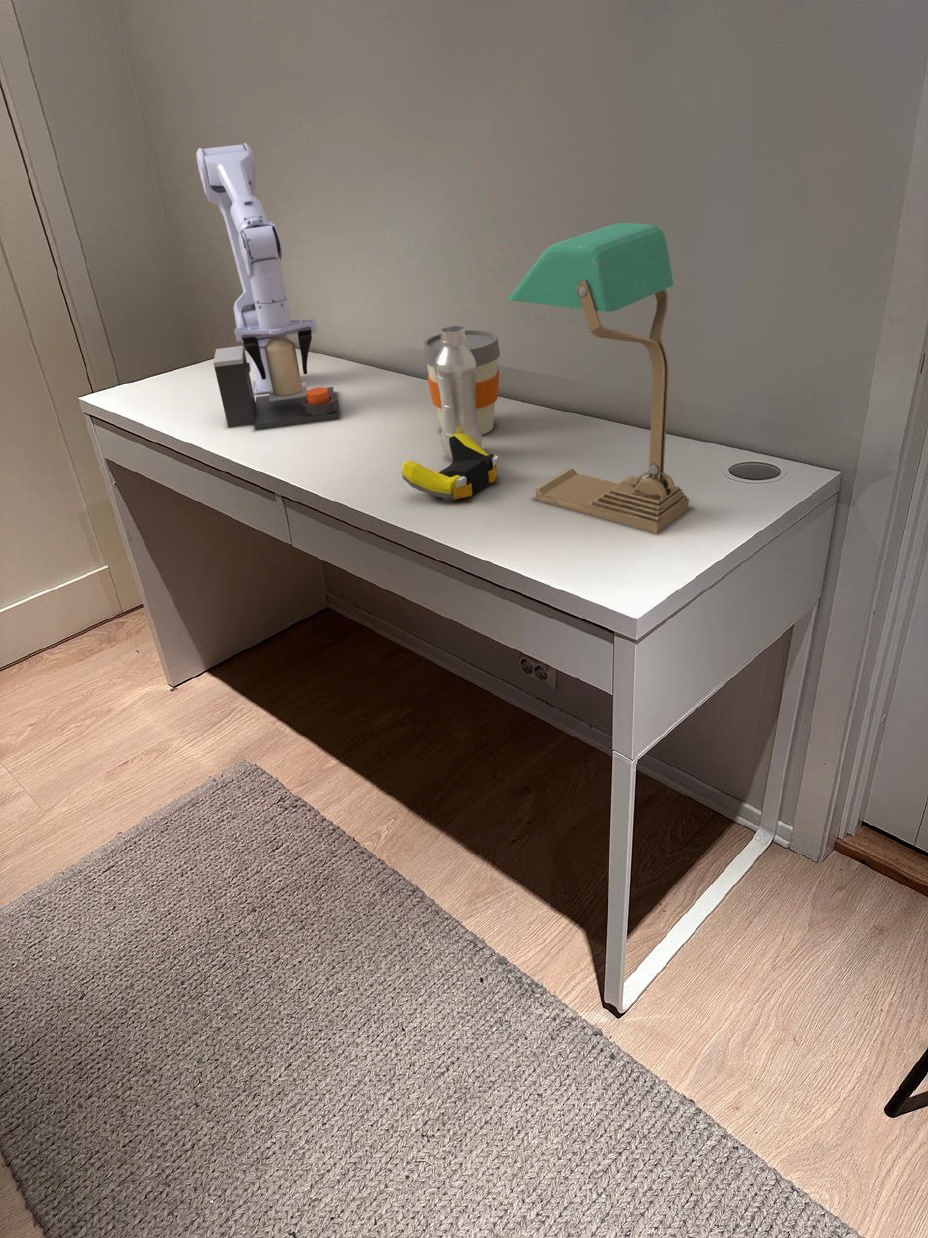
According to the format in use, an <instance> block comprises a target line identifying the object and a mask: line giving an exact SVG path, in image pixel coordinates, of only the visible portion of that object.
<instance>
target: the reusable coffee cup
mask: <svg viewBox="0 0 928 1238" xmlns="http://www.w3.org/2000/svg"><path fill="white" fill-rule="evenodd" d="M465 337H466V341H465V342H464V344H465V345H466V347H467V348H468V349H469V350H470V352H471V353H472V354H473V356H474V358H475V361H476V380H475V405H476V412H477V418H478V425H479V427H480V430H481V435H482V436H483V435H486V434H488V433H489V432H490V431H492V430H493V428H494V423H495V422H494V420H495V408H496V405H495V404H496V402H497V401H498V398H499V386H500V369H498V365H499V364H498V363H499V357H500V356H501V352H500V351H501V350H500V346H499V345H500V344H499V338H498V336H497V334H496V333H494V332H491V331H488V330H481V329H465ZM440 339H441V334H440V333H437V334H435V335H432V336H430V337H428V338H427V339H425V340H424V342H423V343H424V344H423V362H424V363H425V364H426V367H427V372H428V375H427V377H426V378H427V382H428V387H429V391H430V397H431V400H432V404H433V405H434V406H435V407H436V411H437V415H438V421H439V425H440V429H441V431H442V406H441V400H440V393H439V388H438V384H437V380H436V375H435V371H434V363H435V359H436V357H437V355H438V353H439V351H440V350H441V348H442V346H443V344H441V343H440Z"/></svg>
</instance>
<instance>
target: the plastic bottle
mask: <svg viewBox="0 0 928 1238" xmlns="http://www.w3.org/2000/svg"><path fill="white" fill-rule="evenodd" d="M465 330H466V329H465V326H462V325H449V326H445V327H442V328H441V329H440V332H439V334H441V339H440V343H441V344H443V346H442V348H441V350H440V351H439V353H438V355H437V357H436V359H435V363H434V371H435V375H436V380H437V384H438V388H439V393H440V400H441V406H442V430H441V432H440V444H441V448H442V451H443V453H444V454H445V456H446V457H448V458H450V459H452V455H451V451H450V447H449V438H450V436H453V435H455V434H457V433H461V434H464V435H467V436H469V437H470V438H471V439H472V440H473V441H474V442H475V443H476V444H477V445H478V446H480V447H481V448H482V445H483V435H481V430H480V427H479V425H478V418H477V412H476V405H475V380H476V361H475V358H474V356H473V354H472V353H471V352H470V350H469V349H468V348H467V347H466V345H465V344H464V342H465V341H466V337H465Z"/></svg>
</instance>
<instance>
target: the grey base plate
mask: <svg viewBox="0 0 928 1238" xmlns="http://www.w3.org/2000/svg"><path fill="white" fill-rule="evenodd" d="M326 388H327V389H328V392H329V398H330V400H329V401H328V402H325V403H321V404H309V403H308V400H307V397H303V398H295V399H288V400H280V401H272V402H269V394H268V395H260V396H255V402H256V404H255V420H254V424H253V425H254V426H253V427H254V431H262V430H268V429H269V430H271V429H277V428H278V429H279V428H284V427H285V428H286V427H291V426H299V425H300V426H301V425H306V424H307V425H308V424H315V423H321V422H322V423H323V422H329V421H337V420H339V414H338V410H339V409H340V405H339V399H338V396H337V395H336V394H335V391H334V387H333V386H328V387H326ZM308 390H309V389H307V391H308Z"/></svg>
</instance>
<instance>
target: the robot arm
mask: <svg viewBox="0 0 928 1238" xmlns="http://www.w3.org/2000/svg"><path fill="white" fill-rule="evenodd" d="M195 156H196V163H197V168H198V173H199V176H200V180H201V183H202V187H203V191H204V194H205V196H206V197H207V200H208V202H210V203H211V204H215V205H217V206H218V208H219V211H220V212H221V214H222V217H223V219H224V222H225V227H226V230H227V234H228V238H229V242H230V245H231V249H232V253H233V258H234V261H235V265H236V269H237V273H238V277H239V281H240V285H241V289H242V294H240V296H239V297H238V298H237V299H236V300H235V302H234V304H233V314H234V320H235V321H234V322H235V325H236V326H235V327H236V328H235V329H234V334H235V339H236V342H237V343H239V342H241V343H242V345H243V346H244V350H245V352H247V353H248V355H249V356H250V359H251V364H252V370H253V374H254V380H255V381H254V395H255V394H256V395H259V394H267V393H269V387H272V384H271V379H270V374H269V369H268V364H267V359H266V354H265V349H264V347H265V345H266V344H267V342H268V340H269V338H271V339H272V338H273V337H275V336H281V335H283V336H285V337H286V338H289V337H290V335H297V339H298V344H299V349H300V350H299V351H300V355H301V365H302V373H303V375H308V358H309V351H310V347H311V344H312V339H313V335H312V333H313V334H315V333H318V328H317V322H316V319H315V318H311V319H291V315H290V310H289V305H288V304H289V303H288V298H287V292H286V287H285V286H286V285H285V281H284V276H283V275H284V274H283V269H282V265H281V261H282V259H283V249H282V248H283V247H282V243H281V237H280V235H279V231H278V230H277V226H276V224H275V223H273V222H272V221H269V219H268V216H267V215H266V212H265V209H264V206H263V204H262V202H261V201H260V200H259V199H258V198H257V197H255V195H256V187H257V186H256V183H257V182H256V176H257V171H256V163H255V158H254V156H253V151H252V148H251V147H250V145H248V143H246V142H244V143H242V144H235V145H226V146H217V147H208V148H202V147H200V148H198V149H197V151H196V153H195Z"/></svg>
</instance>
